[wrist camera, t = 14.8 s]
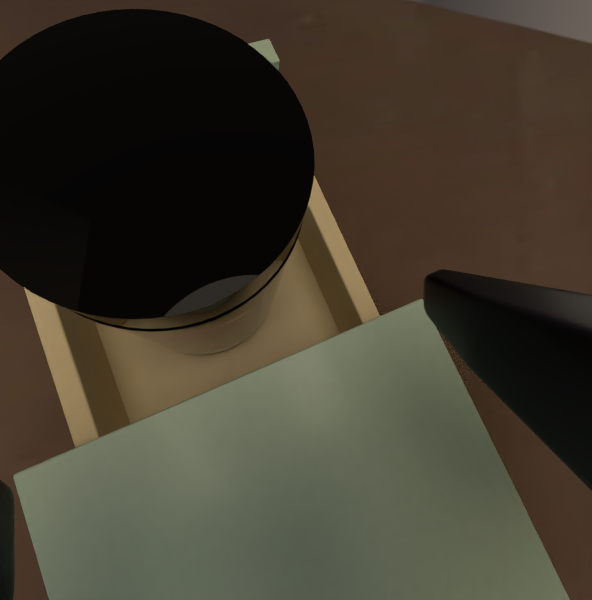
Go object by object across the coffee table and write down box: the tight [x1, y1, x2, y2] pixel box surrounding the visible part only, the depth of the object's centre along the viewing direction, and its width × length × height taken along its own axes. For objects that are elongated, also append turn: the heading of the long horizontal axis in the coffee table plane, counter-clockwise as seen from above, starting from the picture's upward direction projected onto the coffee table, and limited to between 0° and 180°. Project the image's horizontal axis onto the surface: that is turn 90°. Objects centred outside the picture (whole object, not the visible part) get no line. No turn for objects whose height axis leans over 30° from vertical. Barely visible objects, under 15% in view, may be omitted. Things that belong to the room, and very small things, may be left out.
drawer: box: [24, 39, 380, 448], centre depth 17 cm, size 20×13×5 cm, turn 23°
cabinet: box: [13, 299, 570, 600], centre depth 14 cm, size 17×14×7 cm
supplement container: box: [0, 9, 314, 356], centre depth 12 cm, size 7×7×10 cm
